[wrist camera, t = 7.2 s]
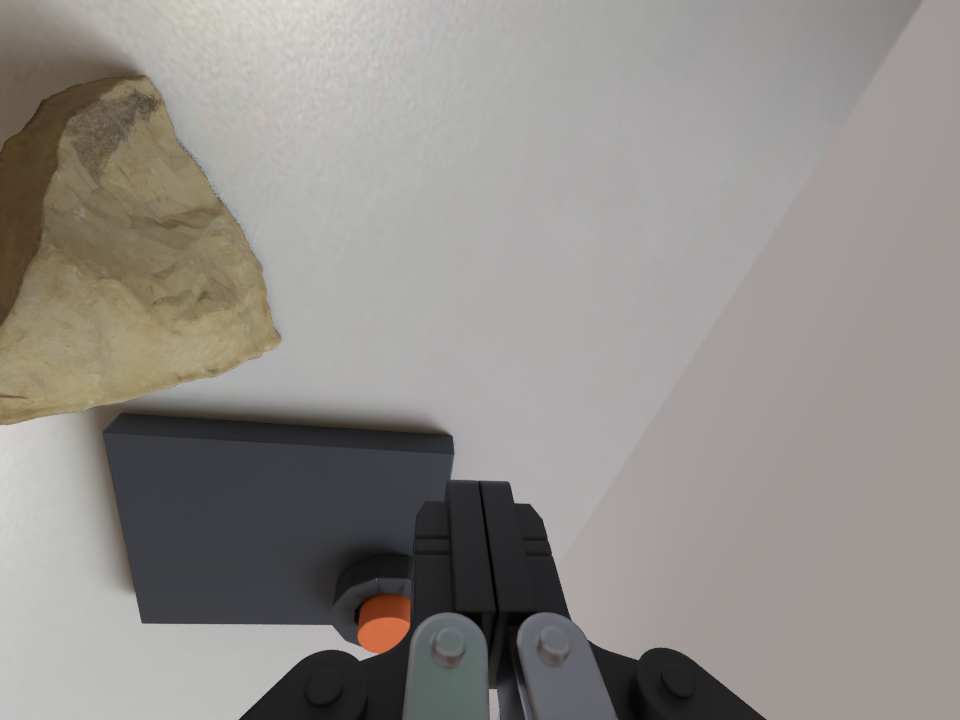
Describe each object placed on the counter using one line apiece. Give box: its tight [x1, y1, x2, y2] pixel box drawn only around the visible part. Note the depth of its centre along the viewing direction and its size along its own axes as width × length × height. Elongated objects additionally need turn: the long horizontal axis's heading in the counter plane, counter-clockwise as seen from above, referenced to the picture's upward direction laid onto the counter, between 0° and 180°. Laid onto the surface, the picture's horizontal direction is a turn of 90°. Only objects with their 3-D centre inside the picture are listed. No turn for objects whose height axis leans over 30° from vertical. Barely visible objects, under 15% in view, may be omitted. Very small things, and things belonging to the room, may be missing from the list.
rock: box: [0, 75, 281, 425], centre depth 18 cm, size 11×9×10 cm
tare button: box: [357, 593, 410, 654], centre depth 27 cm, size 3×3×2 cm
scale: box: [103, 414, 454, 647], centre depth 27 cm, size 16×13×3 cm
